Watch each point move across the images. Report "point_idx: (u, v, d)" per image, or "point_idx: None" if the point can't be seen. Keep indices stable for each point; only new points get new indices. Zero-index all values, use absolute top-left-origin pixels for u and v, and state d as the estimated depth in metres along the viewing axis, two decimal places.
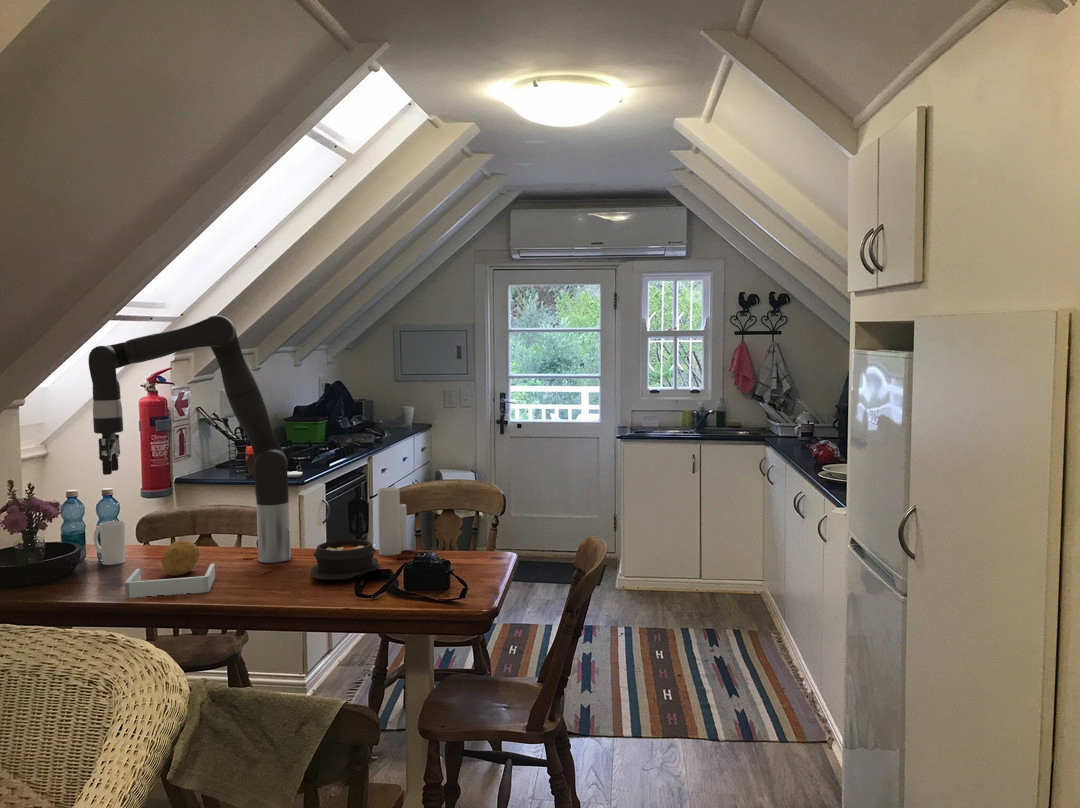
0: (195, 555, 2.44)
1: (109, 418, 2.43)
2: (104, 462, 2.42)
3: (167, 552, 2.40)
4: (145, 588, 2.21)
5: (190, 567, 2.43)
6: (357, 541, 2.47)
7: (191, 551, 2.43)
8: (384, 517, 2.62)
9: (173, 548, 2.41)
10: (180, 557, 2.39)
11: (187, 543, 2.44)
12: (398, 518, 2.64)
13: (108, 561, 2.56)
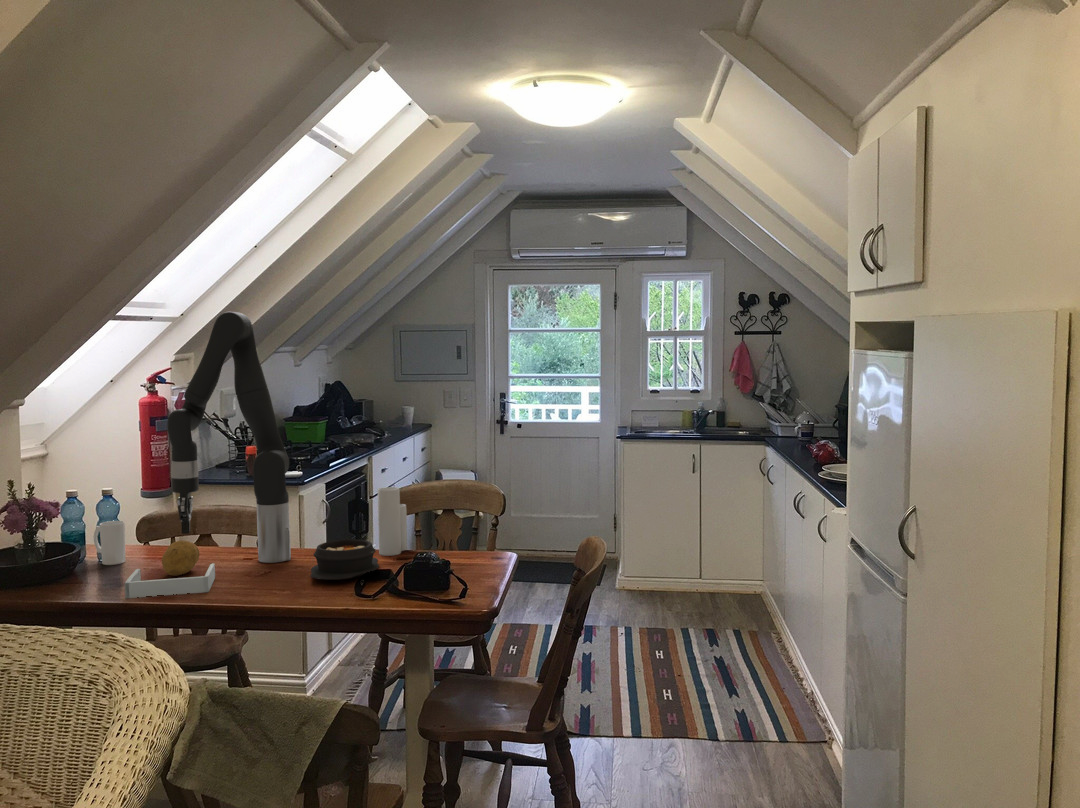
0: (195, 555, 2.44)
1: (187, 479, 2.54)
2: (183, 522, 2.57)
3: (167, 552, 2.40)
4: (145, 588, 2.21)
5: (190, 567, 2.43)
6: (357, 541, 2.47)
7: (191, 551, 2.43)
8: (384, 517, 2.62)
9: (173, 548, 2.41)
10: (180, 557, 2.39)
11: (187, 543, 2.44)
12: (398, 518, 2.64)
13: (108, 561, 2.56)
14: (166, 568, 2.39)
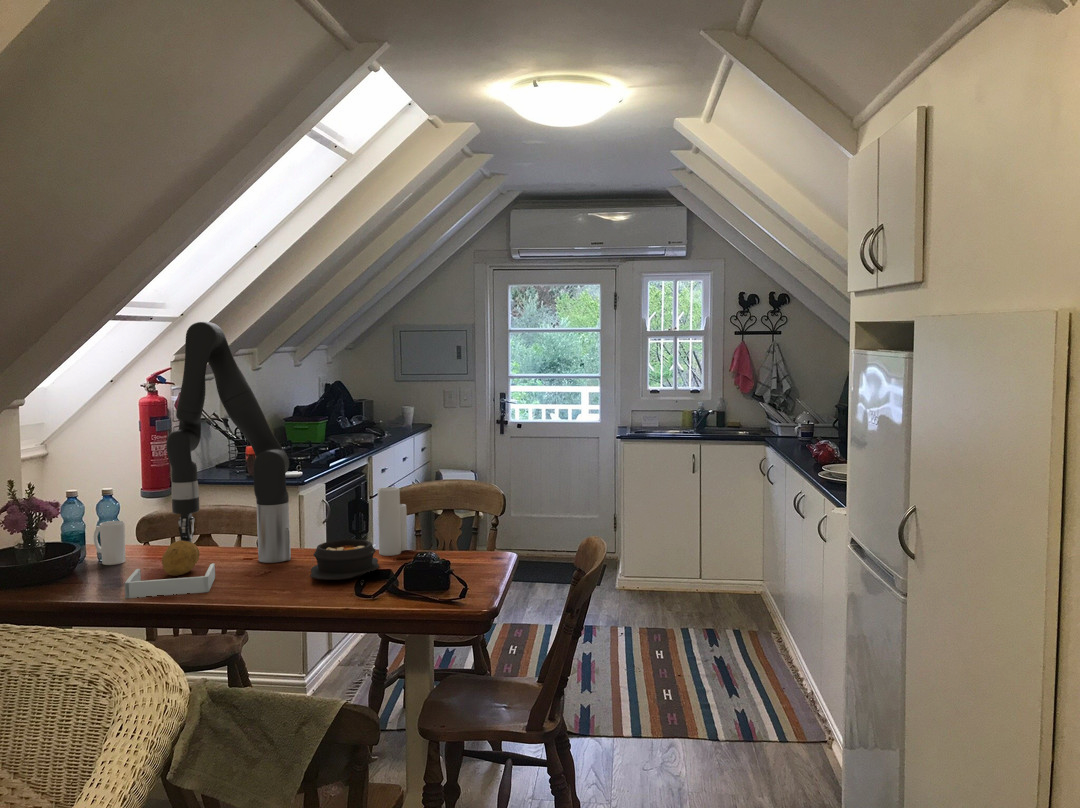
0: (195, 555, 2.44)
1: (187, 500, 2.54)
2: None
3: (167, 552, 2.40)
4: (145, 588, 2.21)
5: (190, 567, 2.43)
6: (357, 541, 2.47)
7: (191, 551, 2.43)
8: (384, 517, 2.62)
9: (173, 548, 2.41)
10: (180, 557, 2.39)
11: (187, 543, 2.44)
12: (398, 518, 2.64)
13: (108, 561, 2.56)
14: (166, 568, 2.39)
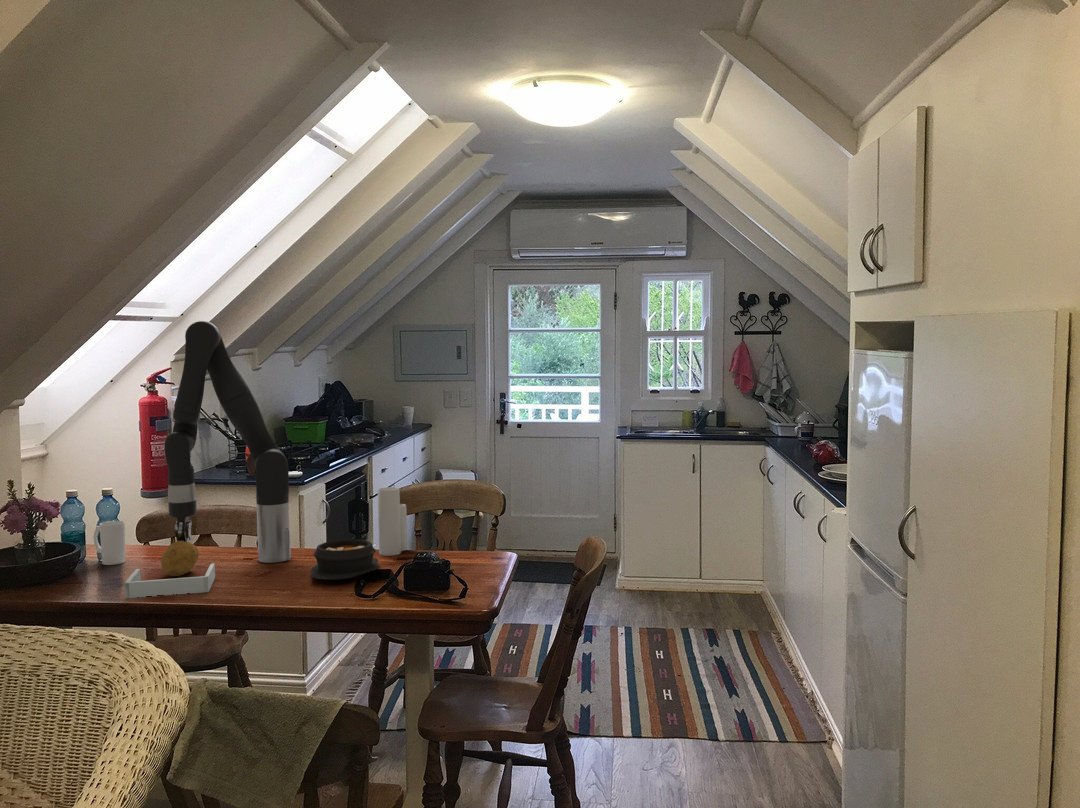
0: (194, 556, 2.43)
1: (184, 503, 2.48)
2: None
3: (166, 553, 2.39)
4: (145, 588, 2.21)
5: (189, 568, 2.42)
6: (357, 541, 2.47)
7: (190, 551, 2.42)
8: (384, 517, 2.62)
9: (172, 549, 2.40)
10: (179, 557, 2.38)
11: (186, 544, 2.43)
12: (398, 518, 2.64)
13: (108, 561, 2.56)
14: (165, 569, 2.38)
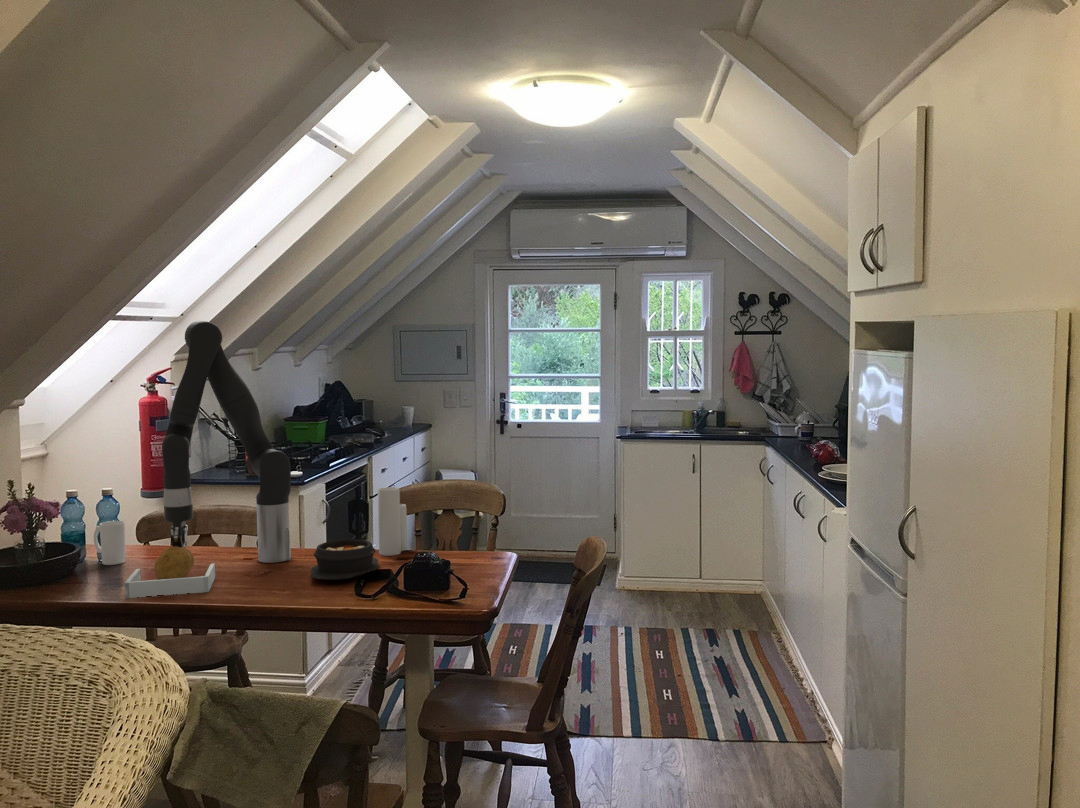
0: (188, 562, 2.36)
1: (180, 507, 2.41)
2: None
3: (159, 558, 2.32)
4: (145, 588, 2.21)
5: (183, 574, 2.35)
6: (357, 541, 2.47)
7: (184, 557, 2.35)
8: (384, 517, 2.62)
9: (165, 554, 2.33)
10: (172, 564, 2.31)
11: (180, 550, 2.36)
12: (398, 518, 2.64)
13: (108, 561, 2.56)
14: (157, 575, 2.31)
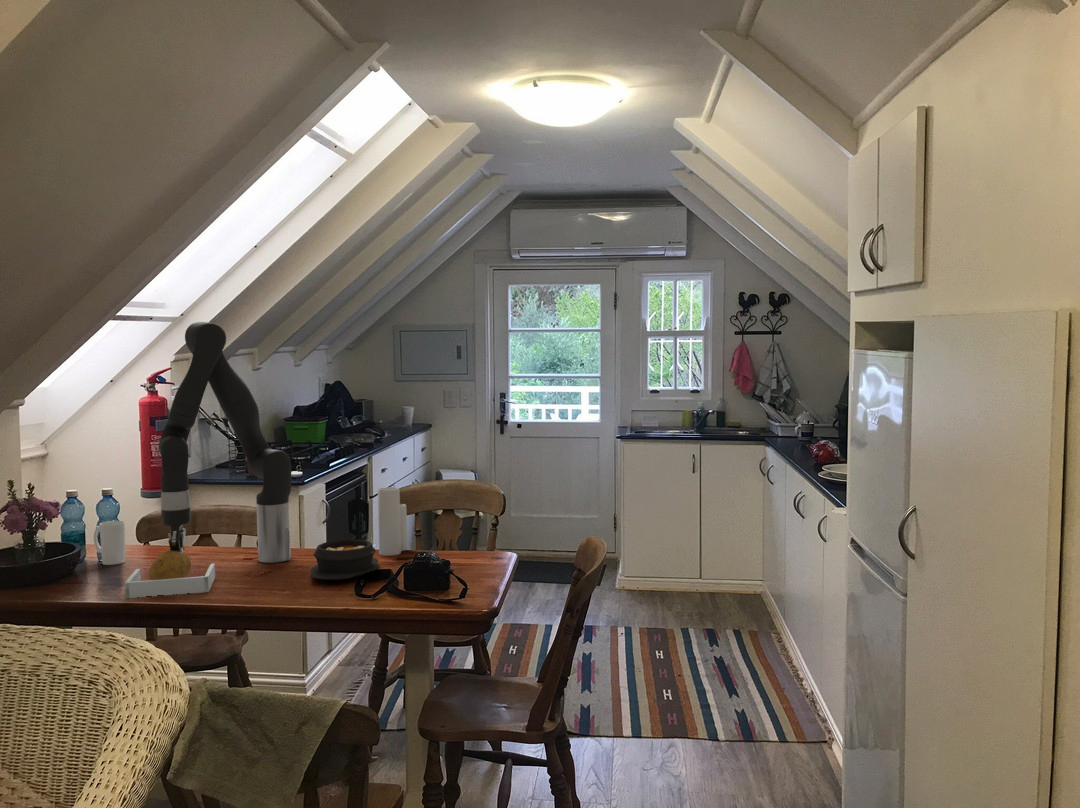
0: (183, 567, 2.30)
1: (178, 510, 2.36)
2: None
3: (153, 563, 2.27)
4: (145, 588, 2.21)
5: None
6: (357, 541, 2.47)
7: (179, 562, 2.29)
8: (384, 517, 2.62)
9: (159, 559, 2.28)
10: (165, 569, 2.26)
11: (176, 554, 2.30)
12: (398, 518, 2.64)
13: (108, 561, 2.56)
14: None
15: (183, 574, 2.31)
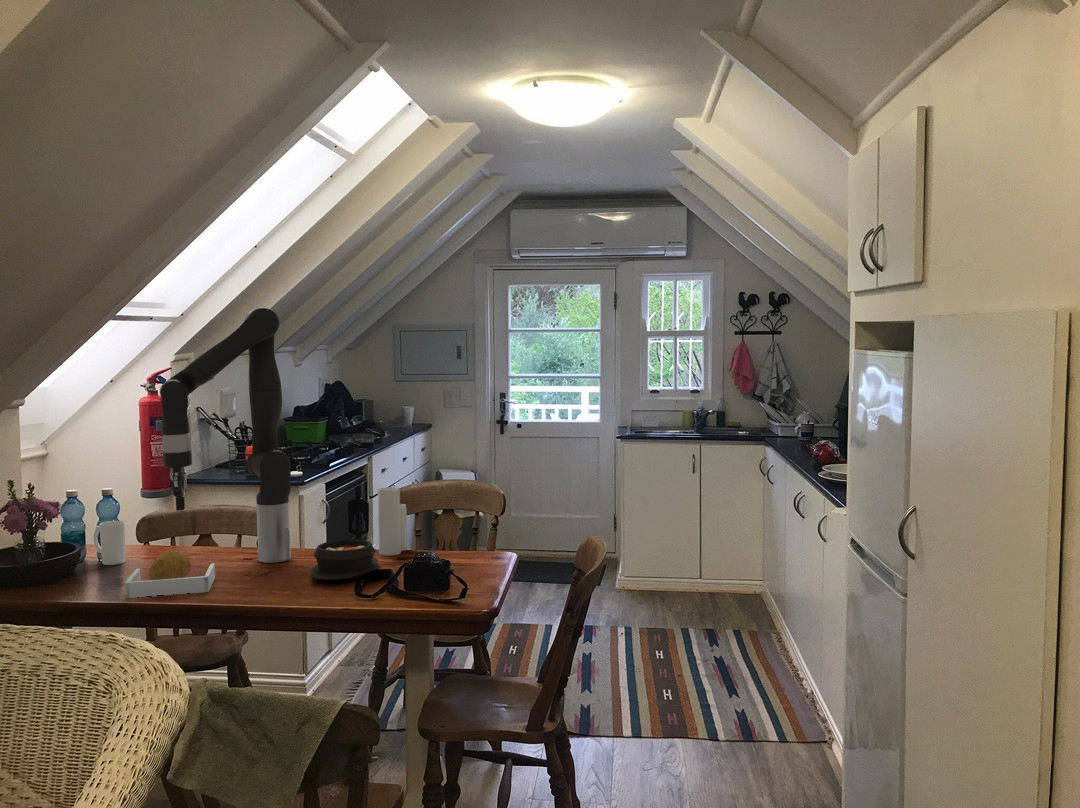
0: (183, 567, 2.30)
1: (179, 453, 2.43)
2: (177, 498, 2.46)
3: (153, 563, 2.27)
4: (145, 588, 2.21)
5: None
6: (357, 541, 2.47)
7: (179, 562, 2.29)
8: (384, 517, 2.62)
9: (159, 559, 2.28)
10: (165, 569, 2.26)
11: (176, 554, 2.30)
12: (398, 518, 2.64)
13: (108, 561, 2.56)
14: None
15: (183, 574, 2.31)
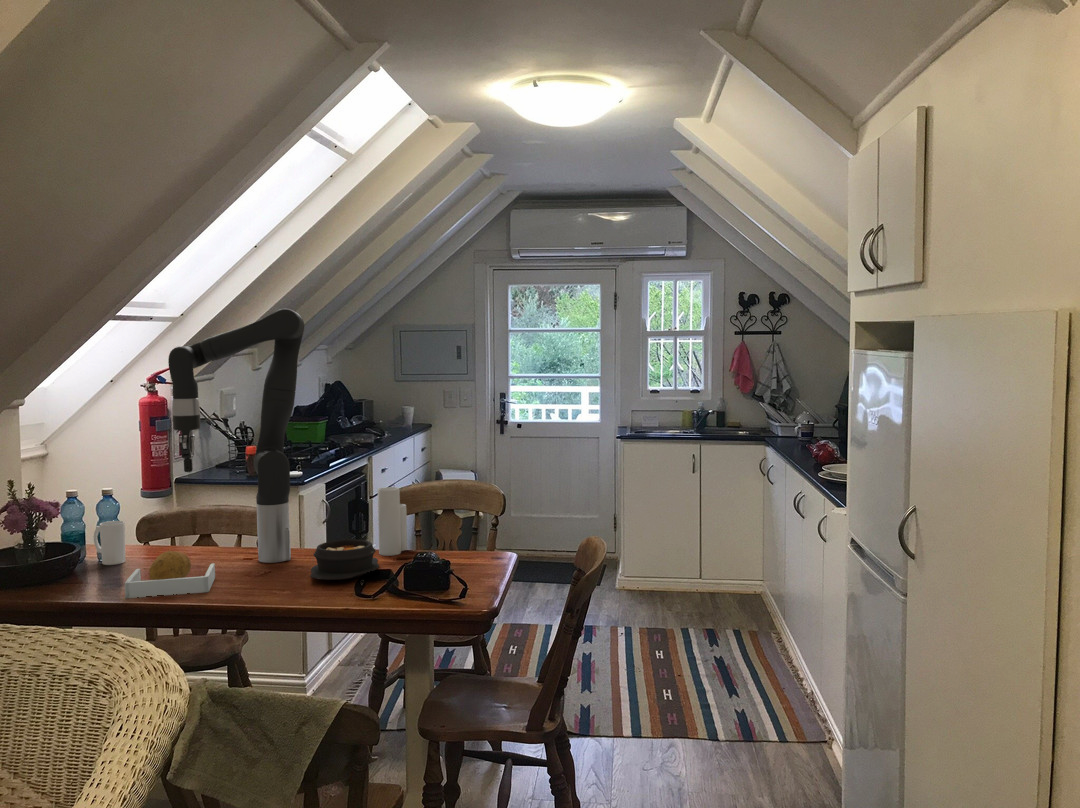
0: (183, 567, 2.30)
1: (188, 416, 2.54)
2: (186, 460, 2.56)
3: (153, 563, 2.27)
4: (145, 588, 2.21)
5: None
6: (357, 541, 2.47)
7: (179, 562, 2.29)
8: (384, 517, 2.62)
9: (159, 559, 2.28)
10: (165, 569, 2.26)
11: (176, 554, 2.30)
12: (398, 518, 2.64)
13: (108, 561, 2.56)
14: None
15: (183, 574, 2.31)
